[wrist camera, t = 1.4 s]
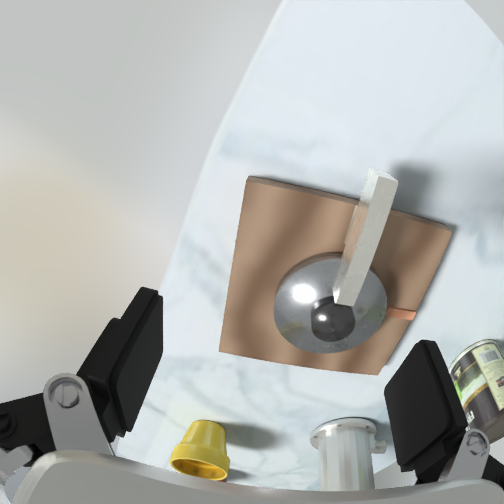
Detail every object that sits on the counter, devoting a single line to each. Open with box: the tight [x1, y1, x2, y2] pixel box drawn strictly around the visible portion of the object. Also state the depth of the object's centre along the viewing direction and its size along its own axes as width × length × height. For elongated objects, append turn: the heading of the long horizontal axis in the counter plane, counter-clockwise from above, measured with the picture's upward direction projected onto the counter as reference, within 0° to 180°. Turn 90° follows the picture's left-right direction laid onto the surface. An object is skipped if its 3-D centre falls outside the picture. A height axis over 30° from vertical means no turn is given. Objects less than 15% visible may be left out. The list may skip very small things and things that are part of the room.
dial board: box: [219, 176, 452, 375], centre depth 34 cm, size 22×22×2 cm
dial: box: [274, 168, 399, 354], centre depth 29 cm, size 21×12×4 cm, turn 170°
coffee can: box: [449, 340, 504, 444], centre depth 32 cm, size 10×10×14 cm
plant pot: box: [170, 420, 230, 480], centre depth 47 cm, size 10×10×10 cm
